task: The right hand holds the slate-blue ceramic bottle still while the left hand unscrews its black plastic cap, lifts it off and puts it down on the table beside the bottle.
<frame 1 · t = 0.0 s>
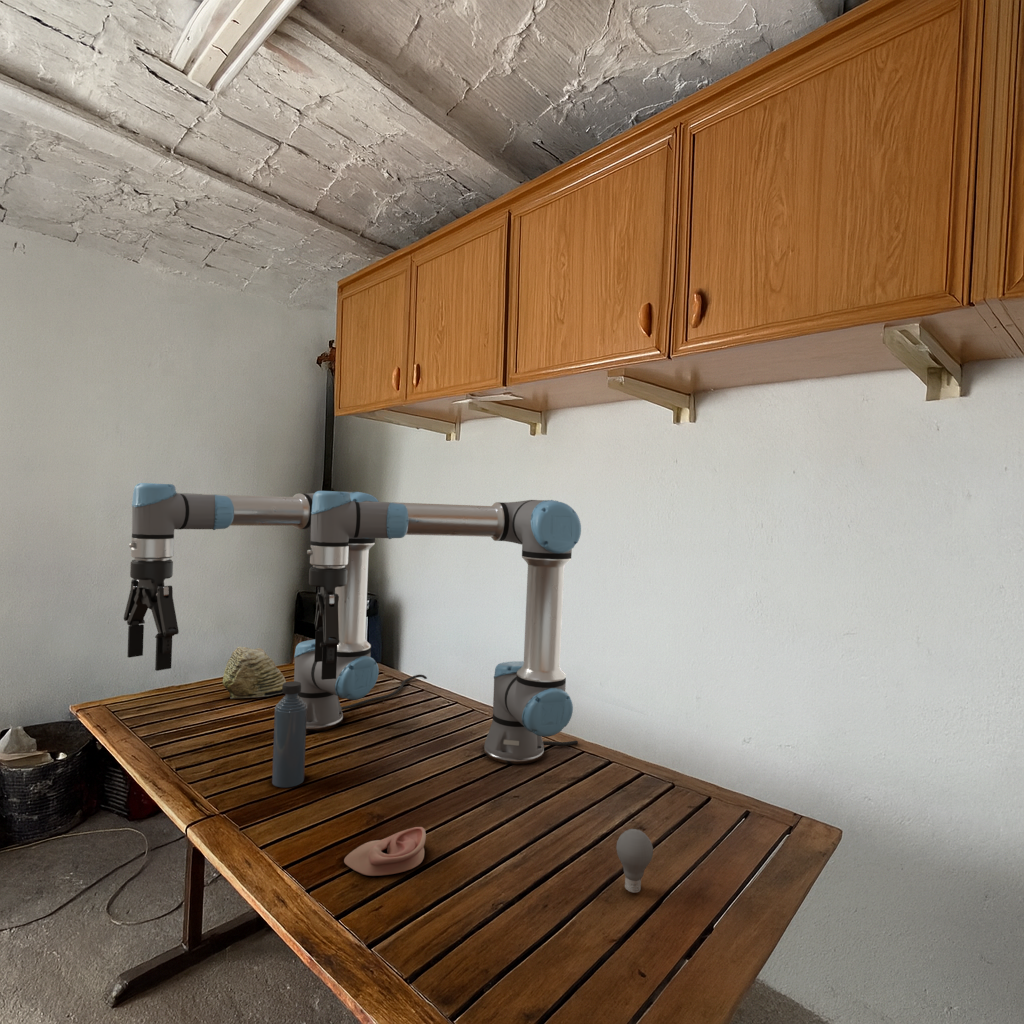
left hand: (148, 662, 129), 28 cm above the table, tool pointing down, fingers open, 13 cm apart
right hand: (324, 669, 130), 28 cm above the table, tool pointing down, fingers open, 13 cm apart
fossil: (254, 694, 198), on the table
light bulb: (632, 891, 106), on the table
cap: (291, 685, 140), point 21 cm above the table, screwed on, not yet turned
anatomical model: (385, 859, 112), on the table
bottle: (288, 780, 141), on the table
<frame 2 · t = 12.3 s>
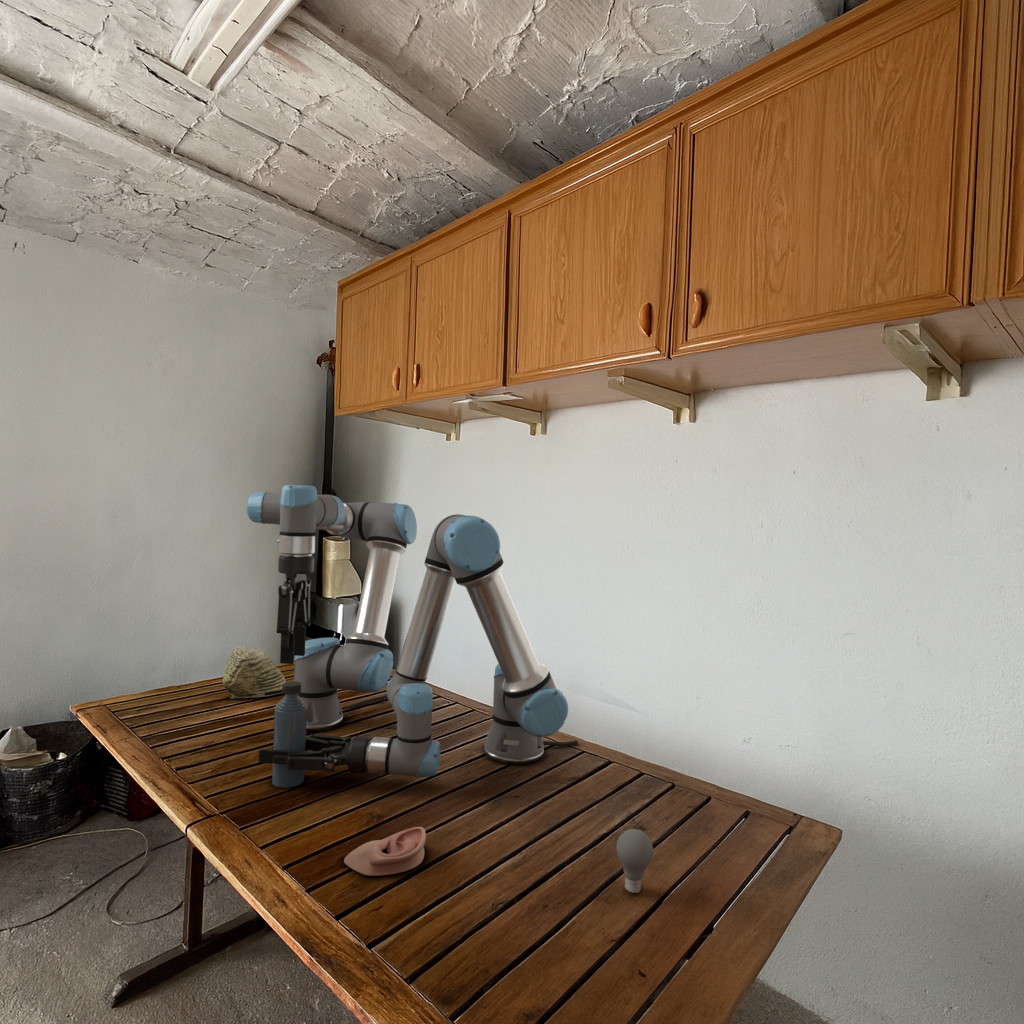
left hand: (292, 658, 140), 27 cm above the table, tool pointing down, fingers open, 6 cm apart
right hand: (267, 749, 141), 7 cm above the table, tool horizontal, fingers closed on bottle, 7 cm apart
bottle: (288, 780, 141), on the table, touching right hand
everything else where it was.
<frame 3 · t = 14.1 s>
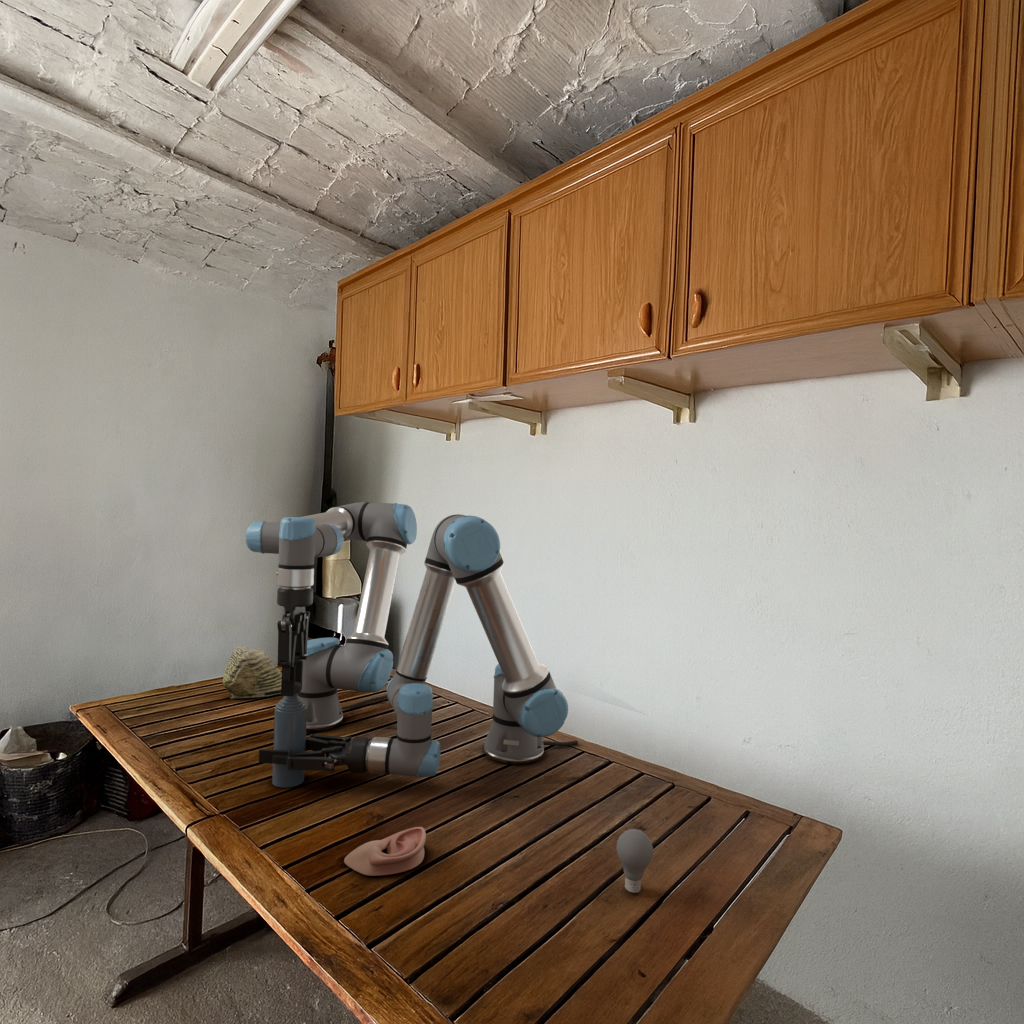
left hand: (291, 692, 140), 20 cm above the table, tool pointing down, fingers closed on cap, 4 cm apart
right hand: (267, 749, 141), 7 cm above the table, tool horizontal, fingers closed on bottle, 7 cm apart
cap: (291, 685, 140), point 21 cm above the table, screwed on, not yet turned, touching left hand
bottle: (288, 780, 141), on the table, touching right hand
everything else where it was.
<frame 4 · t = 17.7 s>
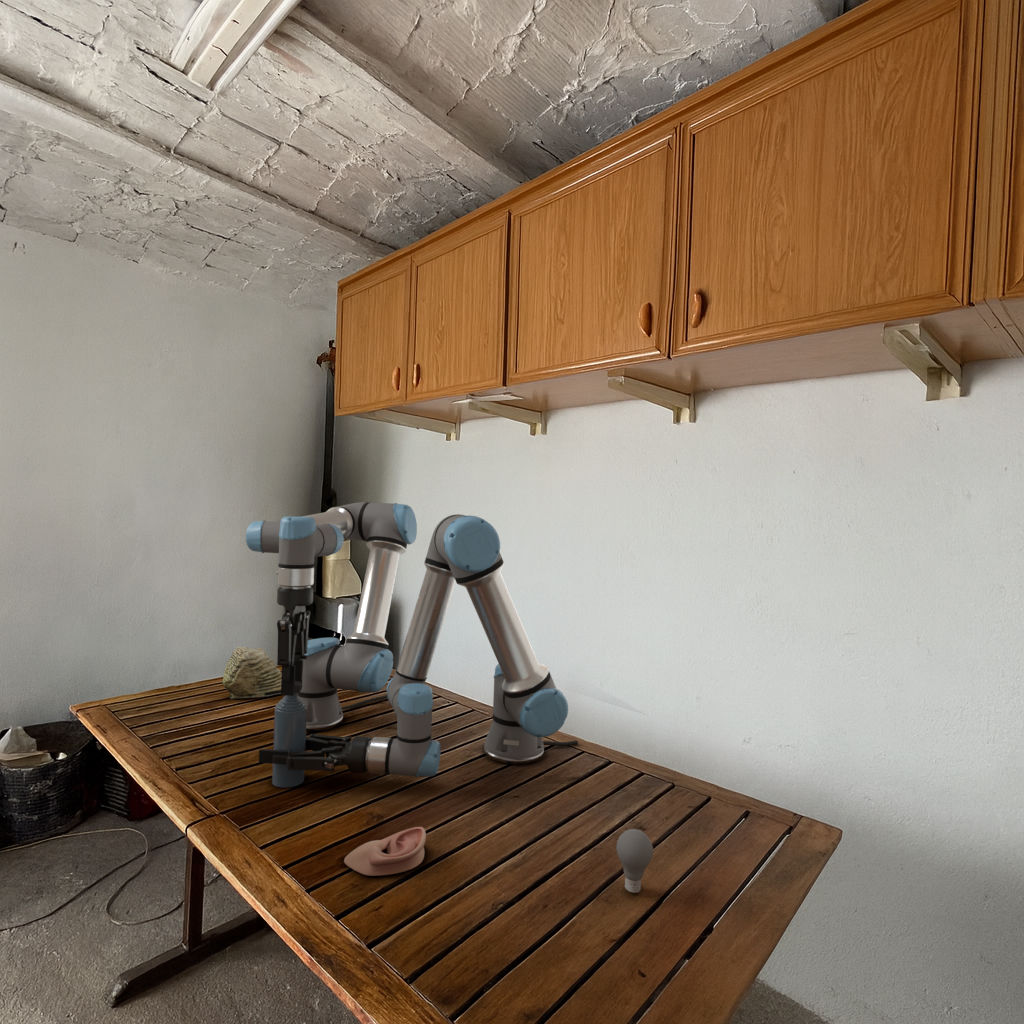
left hand: (291, 691, 140), 20 cm above the table, tool pointing down, fingers closed on cap, 4 cm apart
right hand: (267, 749, 141), 7 cm above the table, tool horizontal, fingers closed on bottle, 7 cm apart
cap: (291, 684, 140), point 22 cm above the table, turned 135° so far, risen 0.1 cm, still on its thread, touching left hand
bottle: (288, 780, 141), on the table, touching right hand
everything else where it was.
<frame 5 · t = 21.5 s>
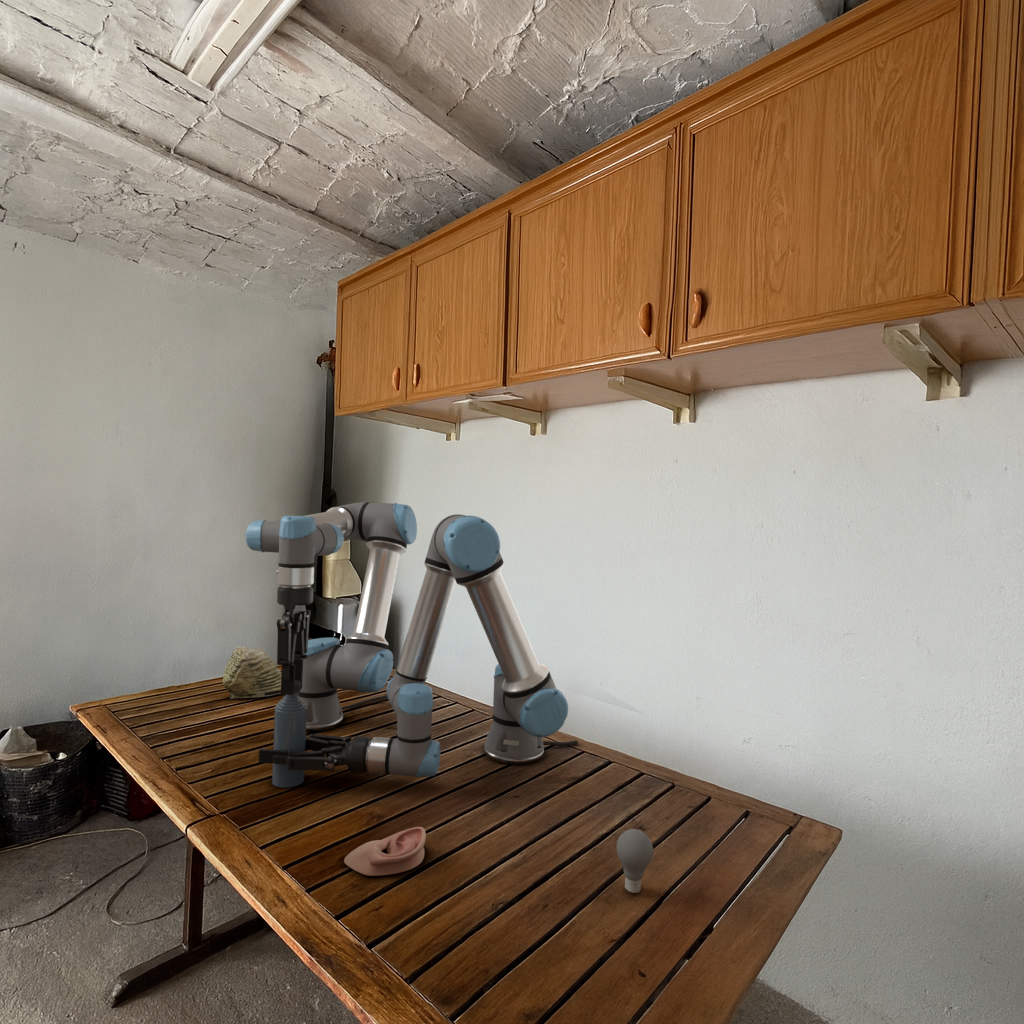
left hand: (291, 690, 140), 20 cm above the table, tool pointing down, fingers closed on cap, 4 cm apart
right hand: (267, 749, 141), 7 cm above the table, tool horizontal, fingers closed on bottle, 7 cm apart
cap: (291, 683, 140), point 22 cm above the table, turned 270° so far, risen 0.3 cm, still on its thread, touching left hand
bottle: (288, 780, 141), on the table, touching right hand
everything else where it was.
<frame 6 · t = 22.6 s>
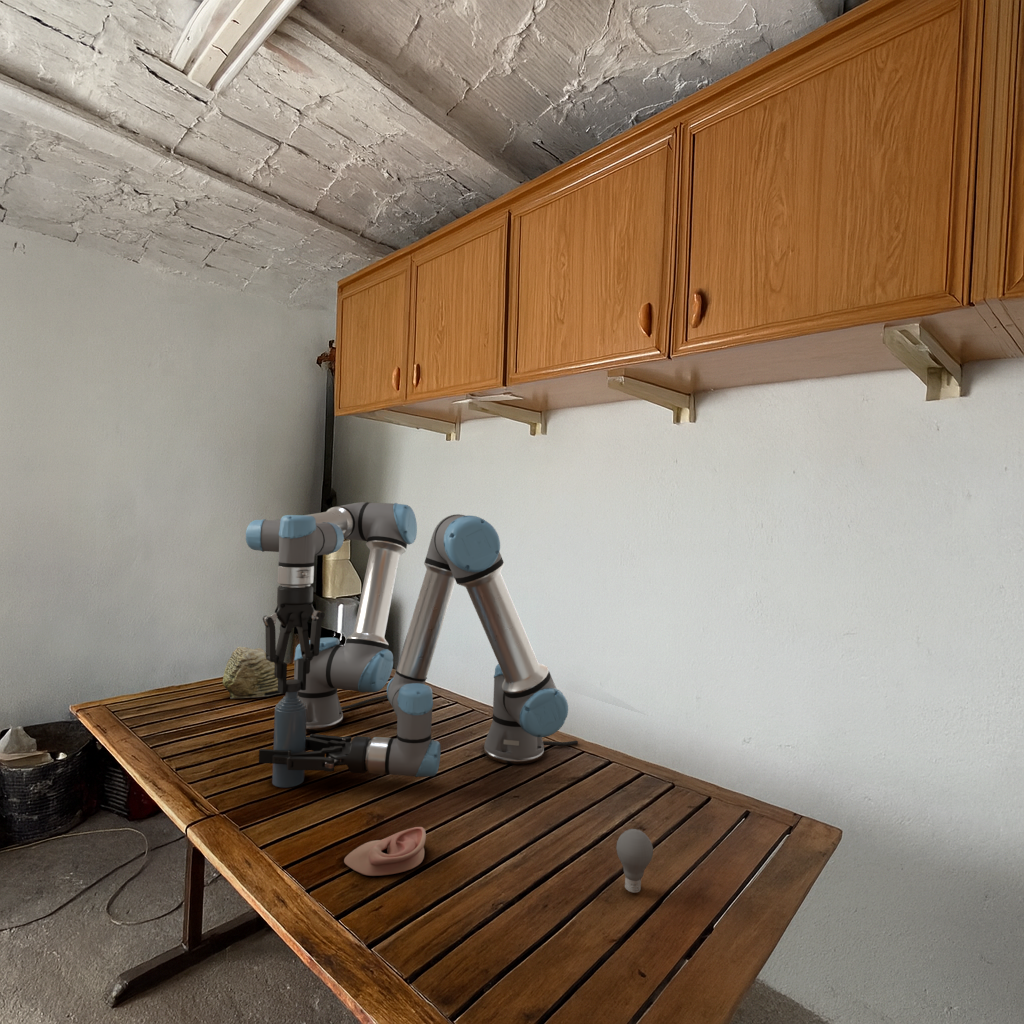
left hand: (291, 690, 140), 20 cm above the table, tool pointing down, fingers closed on cap, 4 cm apart
right hand: (267, 749, 141), 7 cm above the table, tool horizontal, fingers closed on bottle, 7 cm apart
cap: (291, 683, 140), point 22 cm above the table, off its thread, touching left hand
bottle: (288, 780, 141), on the table, touching right hand
everything else where it was.
when the left hand's fingers open (2 cm above the table, at t = 28.2 s): cap drops 2 cm, point 1 cm above the table.
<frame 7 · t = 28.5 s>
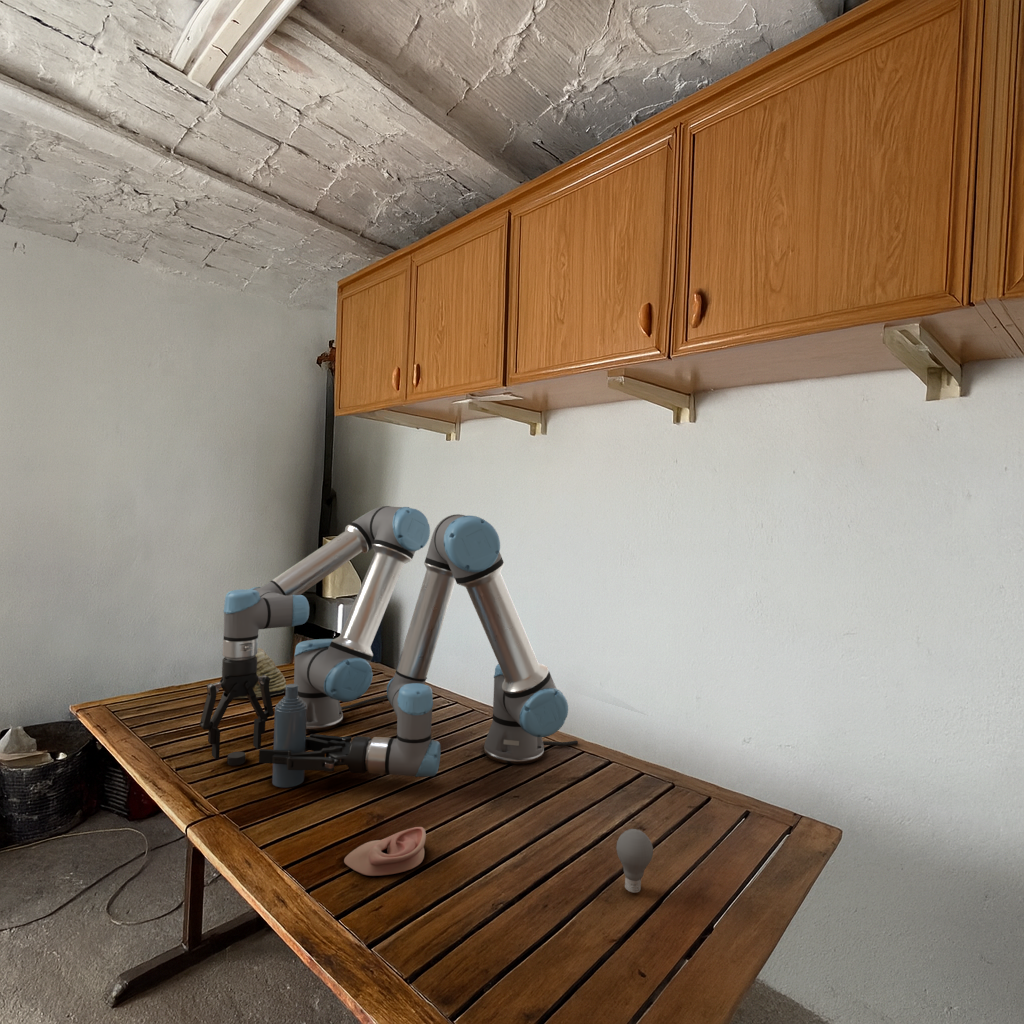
left hand: (236, 751, 149), 2 cm above the table, tool pointing down, fingers open, 9 cm apart
right hand: (267, 749, 141), 7 cm above the table, tool horizontal, fingers closed on bottle, 7 cm apart
cap: (236, 755, 149), point 1 cm above the table, off its thread
bottle: (288, 780, 141), on the table, touching right hand
everything else where it was.
when the right hand's fingers open (7 cm above the table, at t = 29.4 s): bottle stays where it is, on the table.
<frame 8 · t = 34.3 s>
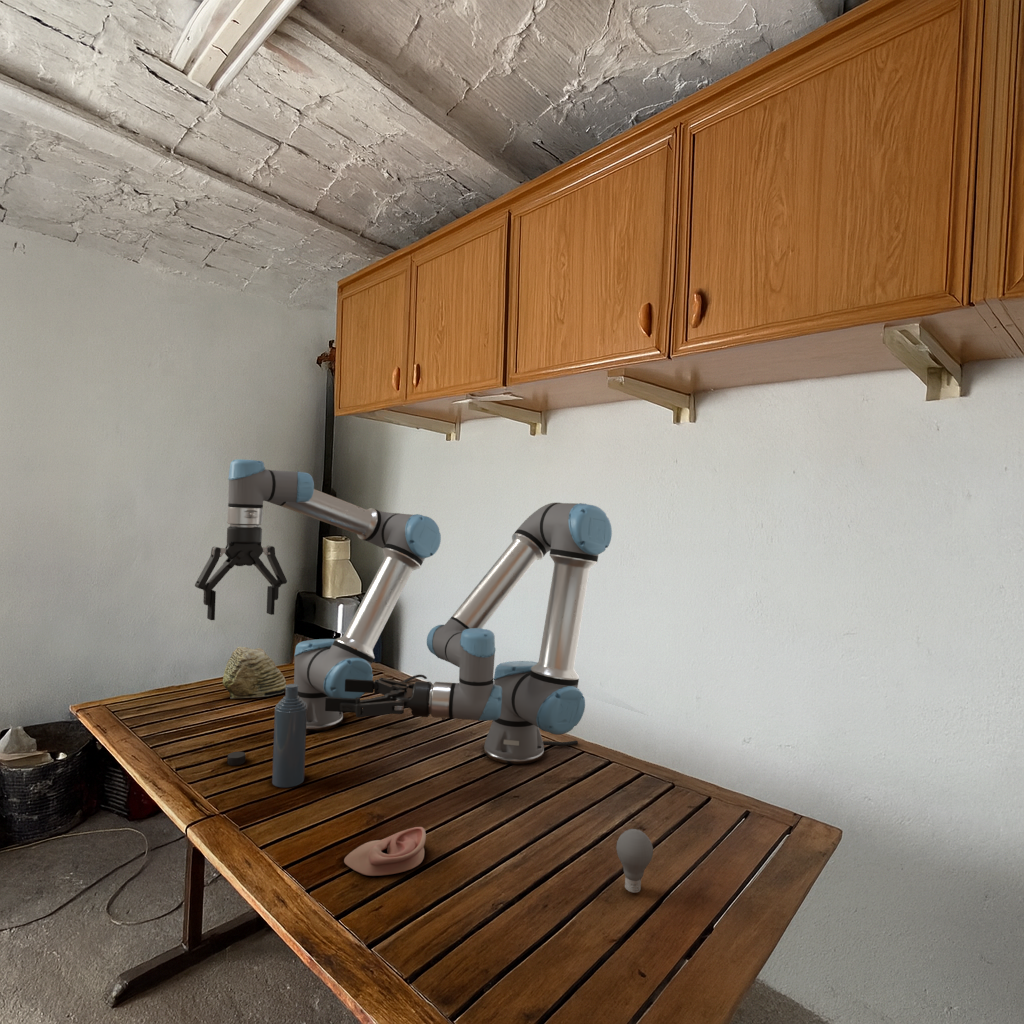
left hand: (241, 616, 148), 34 cm above the table, tool pointing down, fingers open, 13 cm apart
right hand: (335, 694, 140), 20 cm above the table, tool horizontal, fingers open, 13 cm apart
bottle: (288, 780, 141), on the table
everything else where it was.
at the end: cap came off its thread; cap point 1.5 cm above the table; the left hand is holding nothing; the right hand is holding nothing; bottle tilted 0°; bottle moved 0.0 cm from its start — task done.
